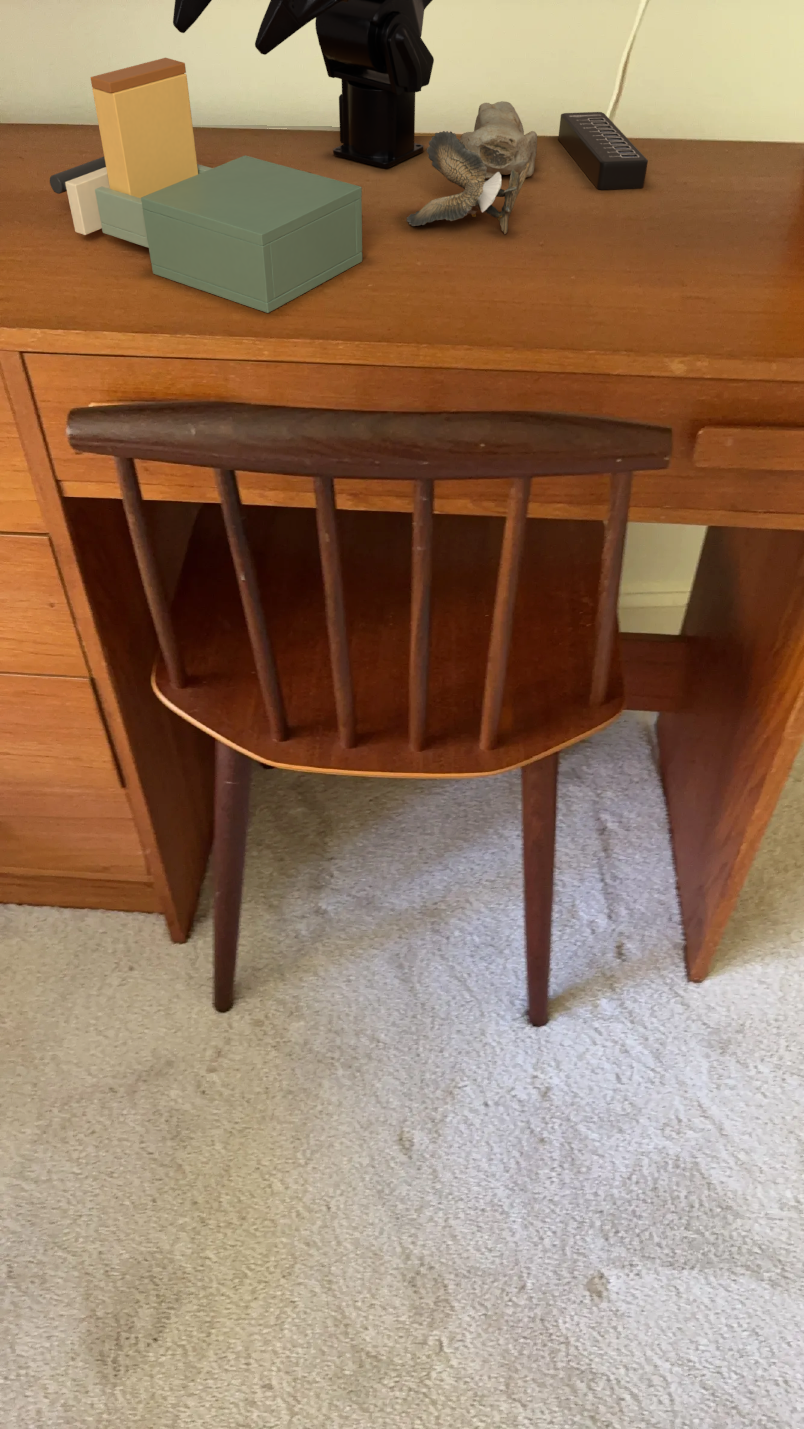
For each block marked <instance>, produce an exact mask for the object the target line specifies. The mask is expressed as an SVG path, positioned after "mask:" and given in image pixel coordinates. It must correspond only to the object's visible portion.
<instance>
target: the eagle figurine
mask: <svg viewBox="0 0 804 1429" xmlns="http://www.w3.org/2000/svg"><path fill="white" fill-rule="evenodd" d="M426 153H427V154H428V159H429V161H431V166H432V167H433V168H434V169H435V170H436V171H438V172H439V173H441V174H442V175H443V177H444V178H445V179H446V180H447V181H449V182H450V183H452V184H454V185H456V186H459V187H460V188H462V189H463V191H461V192H459V193H455V194H451V195H448V196H447V195H446V196H442V197H438V198H434V199H432V200H430V201H429V202H427V203H426V204H424V206H423V207H421V209H419V210H418V211H416V212H415V213H411V214H409V215H408V216H406V222H407V223H408V225H411V226H412V227H416V226H417V227H419V226H421V225H422V226H425V225H426V224H427V223H434V222H435V221H440V220H441V221H444V220H446V221H450V222H453V221H457V220H459V219H463V218H464V217H466V216H467V215H471V217H472V218H476V217H477V215H476V214H477V212H479V211H480V212H481V213H484V214H485V213H486V214H487V215H489V216H490V217H491V218H494V219H497V221H498V222H499V225H500V230H501V232H503V233H504V235H506V234H508V230H509V220H510V219H509V218H510V217H511V214H512V211H513V209H514V206H515V203H516V200H517V198H518V195H519V193H520V192H521V190H522V187H523V185H524V182H525V180H526V178H527V177H526V176H527V173H528V170H529V167H530V163H527V164H526V166H525V168H524V169H523V171H522V172H521V174H520V175H519V173H517V172H516V171H515V170H514V169H512V171H511V174H509V175H510V176H509V181H508V187H507V189H503V188H502V184H503V183H502V181H503V180H502V176H503V175H502V174H500V172H497V173H496V174H495V175H493V176H492V177H491V178H489V179H485V177H486V174H487V171H486V170H487V168H486V166H484V163H483V161H482V160H481V158H480V157H479V155H478V154H477V153H476V152H472V151H468V149H466V148H465V145H464V144H462V143H461V142H460V138H457V134H456V133H455V132H452V131H449V130H446V131H445V130H443V131H439V132H435V133H434V135H433V136H432V137H431V139H430V140H429V141H428V147H427V148H426ZM496 197H498V198H504V202H503V206H502V207H501V211H499V210H498V209H497V208H496V206H493V205H492V204H494V202H495V200H496Z"/></svg>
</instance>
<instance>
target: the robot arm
mask: <svg viewBox="0 0 804 1429" xmlns="http://www.w3.org/2000/svg"><path fill="white" fill-rule="evenodd" d="M212 1H213V0H174V8H173V17H172V24H173V27H174V28H175V29H176V31H178V32H179V33H181V34H186V32H187V31H188V30H189V29H190V28H191V27H192V26H193V25H194V23H196V21H197V20H198V19H199V18H200V16H201V15H202V14H203V12H204V11H205V10H206V9H207V7H208V6H209V5H210V3H211V2H212ZM432 2H433V0H270V1H269V3H268V5H267V8H266V11H265V12H264V16H263V17H262V20H261V22H260V26H259V29H258V32H257V34H256V38H255V41H254V47H255V49H256V50H257V51H258V52H259V53H260V55H264V56H266V55H267V54H269V53H270V52H272V51H273V50H275V48H277V47H278V46H279V45H281V44H282V43H284V42H285V41H286V40H287V39H289V38H290V37H291V36H293V35H294V34H295V33H297V32H298V31H299V30H300V29H302V28H304V27H305V26H306V25H307V24H309V23H310V22H311V21H313V20H314V19H315V23H314V25H315V32H316V37H317V41H318V45H319V47H320V51H321V56H322V58H323V63H324V67H325V69H326V73H327V76H328V78H332V79H340V80H341V94H340V95H339V96H338V114H339V116H338V117H339V118H338V119H339V122H338V123H339V142H340V143H341V145H339V146H335V147H334V148H333V149H332V155H333V156H335V157H339V158H344V159H348V160H351V161H356V162H359V163H363V164H367V165H370V166H374V167H379V168H382V169H388V168H391V167H393V166H395V165H397V164H400V163H401V162H403V161H405V160H408V159H410V158H412V157H414V156H417V155H419V154H421V153H423V152H424V149H425V148H424V145H423V144H420V143H416V142H415V130H416V93H420V92H421V91H422V88H423V87H427V86H428V85H429V84H430V81H431V77H432V71H433V66H434V63H435V58H434V56H433V55H432V53H431V51H430V49H429V48H428V47H427V45H426V43H425V42H424V40H423V39H422V34H423V25H424V18H425V17H424V15H425V10H426V9H427V7H428V6H429V5H430V4H431V3H432Z"/></svg>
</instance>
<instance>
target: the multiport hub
mask: <svg viewBox="0 0 804 1429" xmlns="http://www.w3.org/2000/svg"><path fill="white" fill-rule="evenodd" d="M557 139H558V141H559V143H560V144H561V145H562V146H563V148H564V149H565V150H566V152H567V153H568V154H569V155H570V157H571V158H572V159H573V160H574V162H575V163H576V164H577V165H578V167H579V168H580V170H582V172H583V173H584V174H585V176H587V178H588V179H589V181H590V182H591V183H592V185H594V187H595V188H596V189H597V190H601V191H609V190H631V189H643V188H644V187H645V183H646V182H645V180H646V175H647V169H648V162H649V160H648V158H647V157H646V156H645V155H644V153H642V152H641V151H640V149H638V148H637V147H636V146H635V145H634V143H633V142H632V141H631V140H630V139H629V138H628V137H627V136H626V135H625V134H624V133H623V132H622V131H621V129H619V127H618V126H616V124H615V123H614V122H613V121H612V120H611V119H610V118H609V117H608V116H607V114H605V113H604V112H602V111H587V112H586V111H585V112H563V113H561V114H560V119H559V129H558V136H557Z"/></svg>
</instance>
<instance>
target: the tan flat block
mask: <svg viewBox="0 0 804 1429" xmlns="http://www.w3.org/2000/svg"><path fill="white" fill-rule="evenodd" d="M186 68H187V67H186V63H185V62H184V61H179V60H176V59H173V58H169V57H162V58H159V59H155V60H151V61H147V62H142V63H139V64H135V65H133V66H127V67H124V68H119V69H116V70H112V71H108V72H105V73H101V74H97V75H93V76H90V83H91V89H92V95H93V101H94V106H95V107H94V108H95V112H96V117H97V123H98V129H99V134H100V140H101V146H102V152H103V157H104V158H105V163H106V169H107V175H108V180H109V186H110V189H112V190H115V191H118V192H122V193H125V194H128V195H131V196H135V197H138V198H141V197H144V196H146V195H148V194H151V193H153V192H156V191H158V190H161V189H163V188H166V187H168V186H171V185H173V184H176V183H178V182H181V181H183V180H185V179H188V178H190V177H193V176H195V175H198V167H197V164H198V159H197V151H196V142H195V136H194V135H195V134H194V127H193V126H194V125H193V119H192V110H191V109H192V108H191V101H190V92H189V91H190V90H189V83H188V75H187V69H186Z"/></svg>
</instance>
